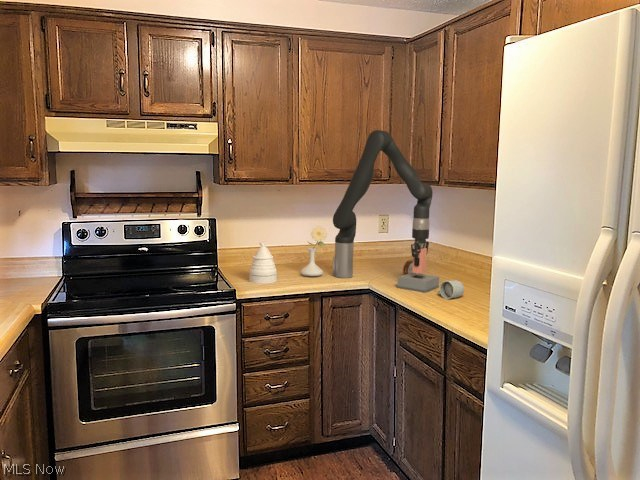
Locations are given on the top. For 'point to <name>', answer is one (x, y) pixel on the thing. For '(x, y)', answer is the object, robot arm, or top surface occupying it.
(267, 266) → the honey pot
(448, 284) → the ceramic mug
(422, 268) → the plug
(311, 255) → the flower in vase
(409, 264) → the tin
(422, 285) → the socket block
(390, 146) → the robot arm
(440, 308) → the top surface
